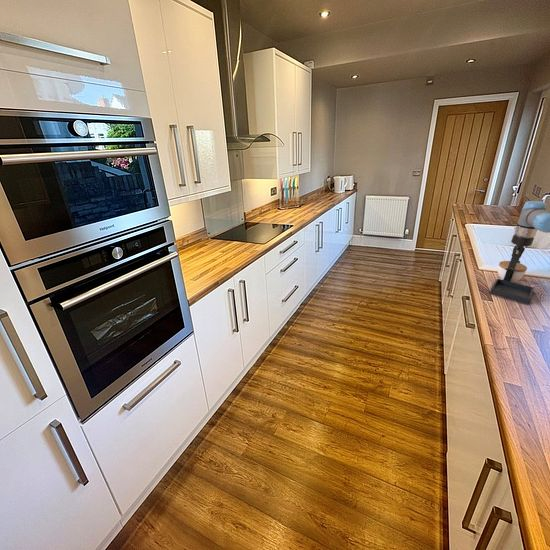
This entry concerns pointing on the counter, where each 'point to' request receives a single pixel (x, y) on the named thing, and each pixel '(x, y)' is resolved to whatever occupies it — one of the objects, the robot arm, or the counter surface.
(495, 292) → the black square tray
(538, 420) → the counter surface
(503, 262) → the trinket box
